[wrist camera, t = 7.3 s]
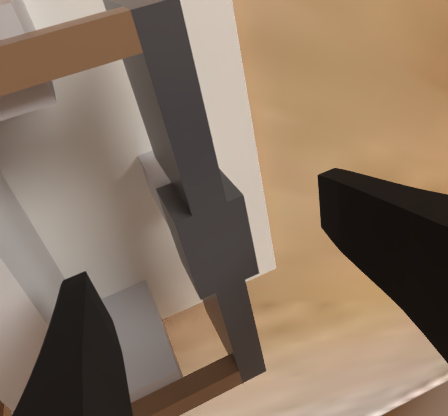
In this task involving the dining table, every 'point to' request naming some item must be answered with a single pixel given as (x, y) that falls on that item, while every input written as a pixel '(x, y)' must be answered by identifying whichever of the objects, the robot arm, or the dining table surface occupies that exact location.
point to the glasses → (165, 170)
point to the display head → (108, 195)
